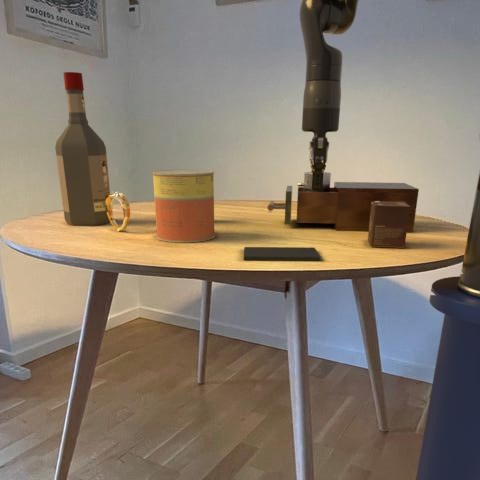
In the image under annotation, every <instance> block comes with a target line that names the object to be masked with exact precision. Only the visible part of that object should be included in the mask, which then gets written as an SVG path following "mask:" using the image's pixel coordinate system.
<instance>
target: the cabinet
mask: <svg viewBox="0 0 480 480" xmlns="http://www.w3.org/2000/svg"><path fill="white" fill-rule="evenodd" d="M333 188H336V189H337V190H338V191H339V192H338V204H337V217H336V224H335V223H332V225H333V226H334V229H335V231H342V232H343V231H345V232H346V231H347V232H348V231H349V232H353V231H354V232H369V222H370V212H371V202H373V201H390V202H405V203H407V204H408V205H409V206H410V209H409V217H408V225H407V233H414V228H415V221H416V214H417V206H418V198H419V191H420V189H419V188H417V187H415V186H413V185H410V184H408V183H406V182H372V181H371V182H366V181H364V182H362V181H361V182H358V181H357V182H356V181H334V182H333Z"/></svg>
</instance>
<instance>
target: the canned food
mask: <svg viewBox="0 0 480 480" xmlns="http://www.w3.org/2000/svg"><path fill="white" fill-rule="evenodd" d="M214 174H215V171H213V170H206V169H205V170H204V169H167V170H155V171H153V172H152V178H153V179H152V181H153V194H154V213H155V223H156V224H155V225H156V239H157V240H159V241H162V242H166V243H183V244H184V243H198V242H199V243H200V242H205V241H209V240H212V239H215V237H216V234H215V196H214V195H215V190H214V189H215V188H214V187H215V183H214Z"/></svg>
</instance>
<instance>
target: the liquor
mask: <svg viewBox="0 0 480 480" xmlns="http://www.w3.org/2000/svg"><path fill="white" fill-rule="evenodd" d="M63 81H64V89H65V91H66V99H67V101H66V102H67V111H68V121H67V122H68V125H67V126H66V127H65V129H64V130H63V131H62V133H61V134H60V136H59V137H58V138H57V140H56V142H55V147H54V149H55V157H56V164H57V171H58V178H59V187H60V194H61V200H62V208H63V217H64V221H65V222H66V225H70V226H78V227H79V226H84V227H85V226H87V227H88V226H89V227H90V226H91V227H93V226H94V227H95V226H101V225H102V226H103V225H107V224H108V223H110V220H109V218H108V215H107V211H106V205H105V203H106V199H107V198H108V195H110V194H111V189H110V188H111V187H110V179H109V167H108V159H107V158H108V157H107V147H106V144H105V142H104V141H103V139H102V138H101V137H100V136H99V135H98V134H97V132H96V131H95V130H94V129H93V128H92V127H91V125H89V120H88V119H87V113H86V104H85V103H86V102H85V95H84V91H85V88H84V79H83V73H82V72H75V71H66V72H65V71H64V72H63Z"/></svg>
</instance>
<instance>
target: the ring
mask: <svg viewBox="0 0 480 480" xmlns="http://www.w3.org/2000/svg"><path fill="white" fill-rule="evenodd" d="M115 200H117V201H118V202H119V204H120V205H121V208H122V212H123V222H122V225H118V223H117V221H116V219H115V217H114V213H113V205H114V201H115ZM105 205H106V211H107V215H108V218H109V220H110V221H109V223H110V224H111V225H112V227H113V229H115V230H116V231H117V232H123V231H124V230H126V229H127V228H128V226H129V223H130V220H131V206H130V202H129V200H128V199H127V197H126V194H124V193H123V192H122V191H121V190H117V191H116V190H112V191H111V193H110V195H108V198H107V199H106V203H105Z"/></svg>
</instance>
